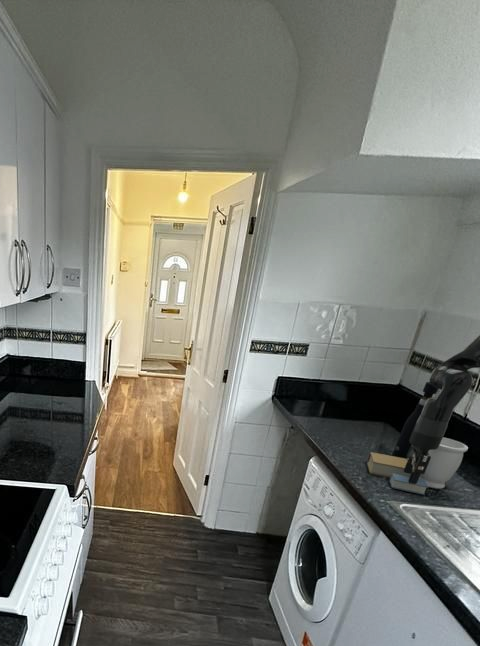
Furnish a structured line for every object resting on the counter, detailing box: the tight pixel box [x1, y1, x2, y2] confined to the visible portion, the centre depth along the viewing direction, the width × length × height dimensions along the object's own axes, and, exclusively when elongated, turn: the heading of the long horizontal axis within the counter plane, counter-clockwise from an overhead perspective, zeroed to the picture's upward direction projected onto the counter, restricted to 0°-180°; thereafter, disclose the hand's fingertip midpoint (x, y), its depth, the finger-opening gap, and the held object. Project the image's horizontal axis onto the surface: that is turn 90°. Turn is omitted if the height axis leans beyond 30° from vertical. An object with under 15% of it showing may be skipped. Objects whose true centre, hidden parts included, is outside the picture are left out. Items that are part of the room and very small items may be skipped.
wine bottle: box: [391, 381, 439, 459], centre depth 150 cm, size 6×6×30 cm
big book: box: [366, 451, 411, 479], centre depth 145 cm, size 12×10×4 cm
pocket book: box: [388, 473, 429, 496], centre depth 135 cm, size 9×6×3 cm, turn 63°
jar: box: [418, 436, 469, 489], centre depth 137 cm, size 11×10×15 cm
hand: (409, 477), depth 134 cm, fingers open, 8 cm apart
